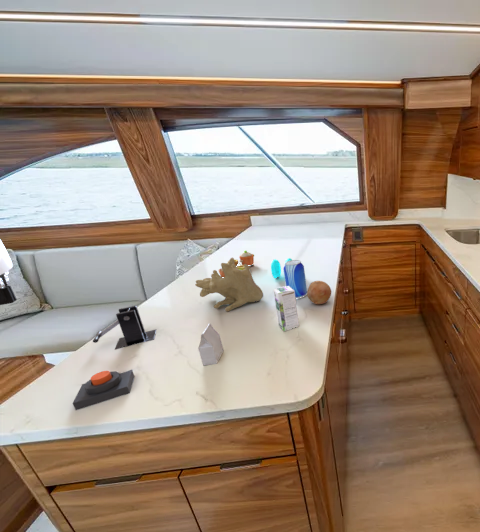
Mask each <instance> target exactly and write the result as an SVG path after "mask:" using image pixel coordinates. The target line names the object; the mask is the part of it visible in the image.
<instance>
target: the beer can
mask: <svg viewBox="0 0 480 532" xmlns="http://www.w3.org/2000/svg"><path fill="white" fill-rule="evenodd" d="M283 276H284V282H285V286H290V287H291V288H292V289H293V290H294V291H295V298H300V297H303V296H305V295H307V291H308V288H307V280H306V271H305V265H304V264H303V263H302V261H301V260H300V259H292V260H291V261H287V262H285V261H284V266H283ZM305 297H306V296H305Z"/></svg>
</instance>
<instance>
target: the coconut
mask: <svg viewBox="0 0 480 532" xmlns="http://www.w3.org/2000/svg"><path fill="white" fill-rule="evenodd" d="M306 295H307V298H308V300H309V301H310V302H311V303H313V304H315V305H323V304H326V303H327V302H328V301H329V300H330V298H331V296H332V289H331V287H330V285H329V284H328V283H327V282H325V281H323V280H314V281H312V282H311V283H310V284H309V286H308V288H307V294H306Z"/></svg>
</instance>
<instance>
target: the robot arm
mask: <svg viewBox="0 0 480 532" xmlns="http://www.w3.org/2000/svg"><path fill="white" fill-rule="evenodd" d="M3 243H4V242H3V241H2V240H1V239H0V306H3V305H9V304H13V303H15V302H16V301H17V300H18V299H17V297H16V294H15V292H14V290H13V288H12V286H11V282H10V279H9V276H8V275H9V274H10V271H11V270H12V269H13V266H14V265H13V262H12V259H11V256H10V255H9V252H8V251H7V248H6V247H5V245H4V244H3Z"/></svg>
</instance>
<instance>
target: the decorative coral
mask: <svg viewBox="0 0 480 532" xmlns="http://www.w3.org/2000/svg"><path fill="white" fill-rule="evenodd" d="M234 259H235V258H234V257H230V259H229V260H228V261H229V262H228V261H227V262H221V263H220V266H221V269H222V270H223V272H224V274H225V277H224V278H222V277H221V275H220V273H219V272H218V271H217V270H216V269H213V270H212V273H211V275H210V277H205V278H203V279H196V280H195V287H197V288H199V289H201V290H200V292H199V297H201V298H204V297H207V296H208V295H210V294H219V295H221V296H222V297H224V299H223V300H219V301H217V302H216V304H214V305H213V309H219V308H220V307H221V306H226V307H225V308H224V311H225V312H227V313H228V312H231V311H232V310H233V309H236V308H240V307H241V306H243V305H245V304H247V303H256V302H260V301H261V300H262V299H263V298H264V292H263V290H262V289H261V287H260V286H259V285H257V283H256V282H255V280H254V277H253V274H252V272H251V267H250V266H247V264H244V267H245V269H244V270H239V269H238V268H237V267H236V265H235V261H234ZM226 263H227V264H226ZM255 301H256V302H255Z"/></svg>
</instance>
